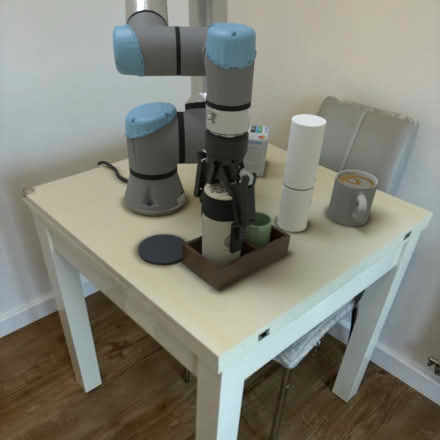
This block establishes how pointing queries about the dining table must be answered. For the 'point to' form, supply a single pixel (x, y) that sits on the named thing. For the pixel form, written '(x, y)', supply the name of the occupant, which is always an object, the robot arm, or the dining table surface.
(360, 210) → the coffee mug
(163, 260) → the slate coaster
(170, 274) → the dining table surface
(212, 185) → the travel mug
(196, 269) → the cup holder
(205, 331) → the dining table surface
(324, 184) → the dining table surface
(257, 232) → the sage cup
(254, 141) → the light bulb box
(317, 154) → the cylindrical container
